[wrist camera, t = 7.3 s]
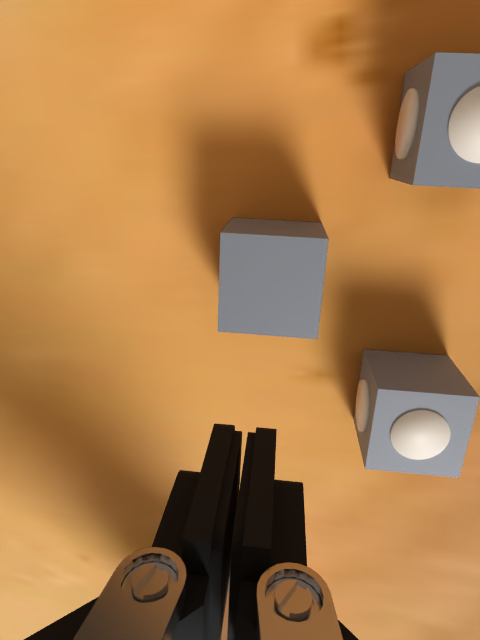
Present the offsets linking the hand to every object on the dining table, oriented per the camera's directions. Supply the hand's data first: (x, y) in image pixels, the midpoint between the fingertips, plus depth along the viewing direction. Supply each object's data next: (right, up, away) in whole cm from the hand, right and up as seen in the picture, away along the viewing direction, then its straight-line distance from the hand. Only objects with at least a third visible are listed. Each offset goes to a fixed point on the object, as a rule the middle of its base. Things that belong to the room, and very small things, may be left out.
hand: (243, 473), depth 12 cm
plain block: (+2, +8, +20) cm, 21 cm away
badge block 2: (+12, -1, +22) cm, 25 cm away
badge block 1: (+13, +16, +16) cm, 25 cm away
